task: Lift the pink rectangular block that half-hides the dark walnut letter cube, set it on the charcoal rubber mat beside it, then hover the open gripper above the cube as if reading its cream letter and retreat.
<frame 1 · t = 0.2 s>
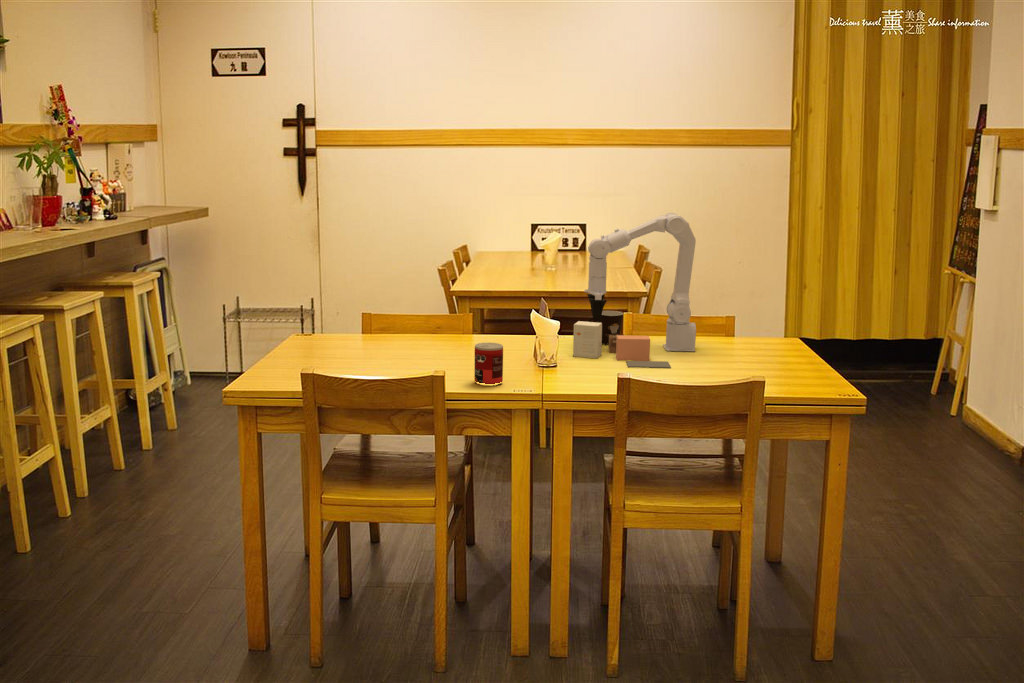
hand: (596, 318, 336), 10 cm above the table, fingers open, 7 cm apart
coffee mug: (604, 342, 348), on the table
pink rectangular block: (632, 359, 325), on the table
canned food: (488, 383, 293), on the table
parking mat: (648, 365, 317), on the table
letter cube: (616, 351, 335), on the table
small box: (587, 356, 328), on the table
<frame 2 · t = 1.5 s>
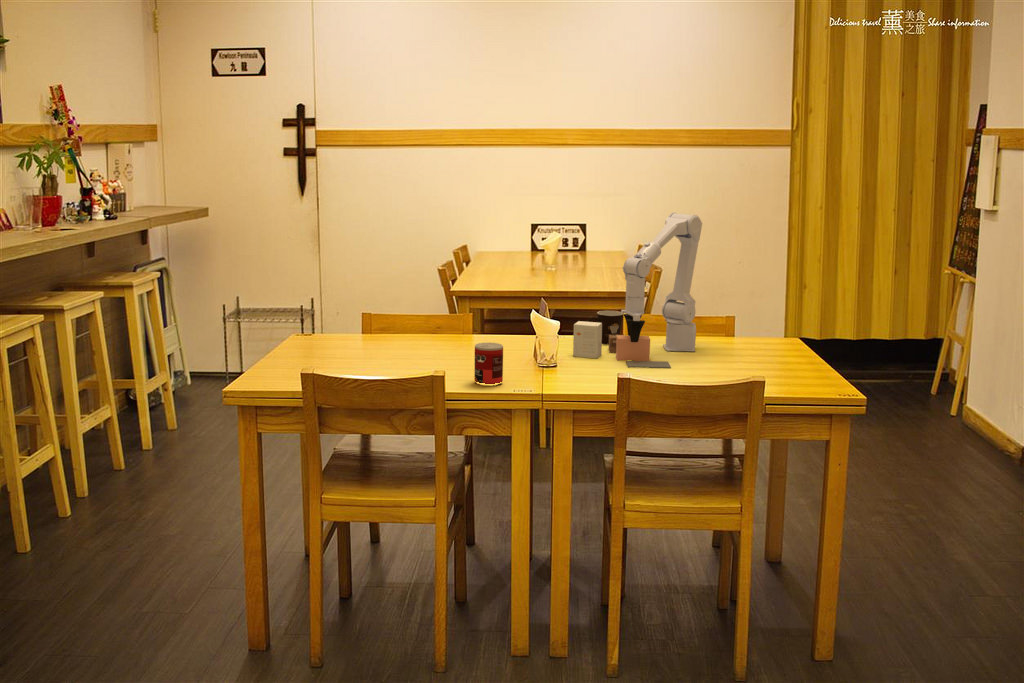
hand: (633, 339, 324), 6 cm above the table, fingers open, 7 cm apart
nothing on the table moved.
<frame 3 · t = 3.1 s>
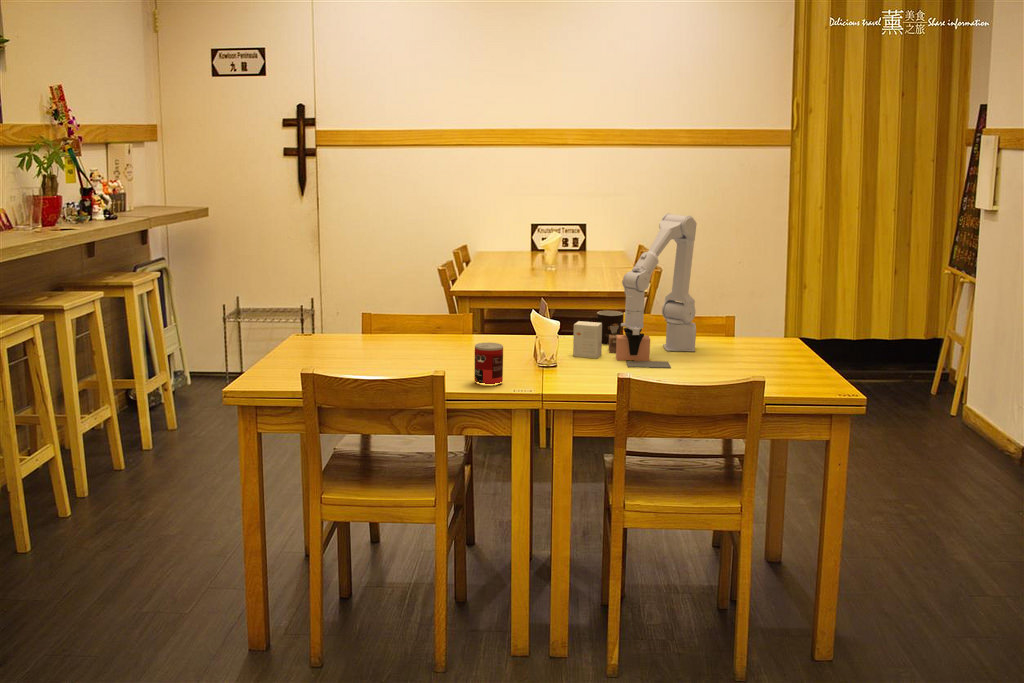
hand: (632, 352, 325), 2 cm above the table, fingers closed on pink rectangular block, 5 cm apart
pink rectangular block: (632, 358, 325), on the table, touching gripper
everything else where it was.
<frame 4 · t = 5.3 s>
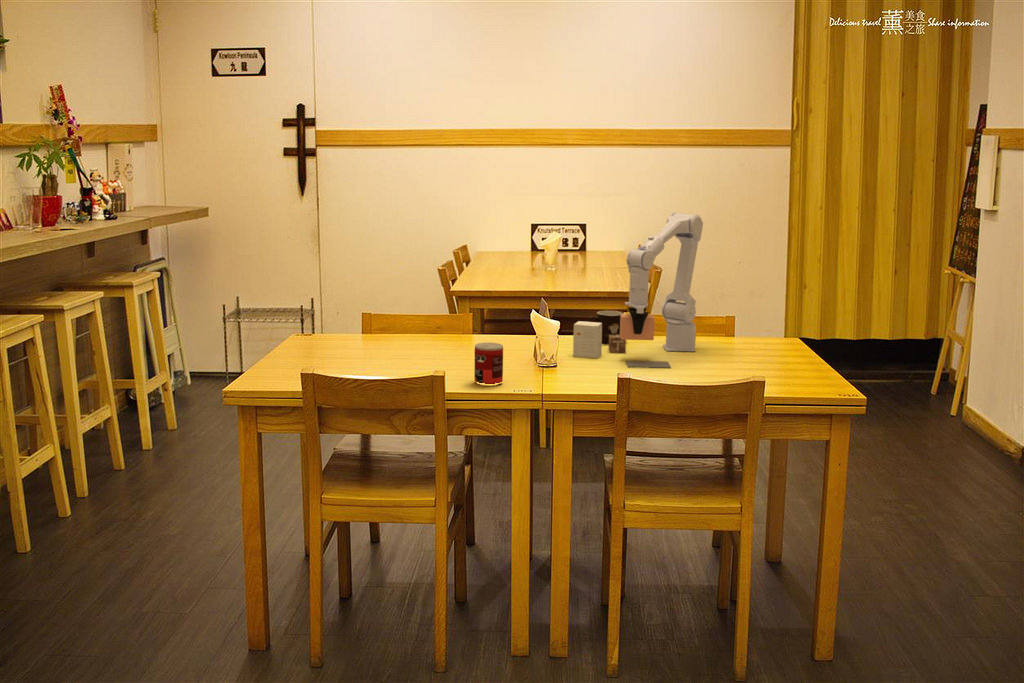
hand: (636, 332, 321), 9 cm above the table, fingers closed on pink rectangular block, 5 cm apart
pink rectangular block: (636, 338, 322), point 7 cm above the table, touching gripper
everything else where it was.
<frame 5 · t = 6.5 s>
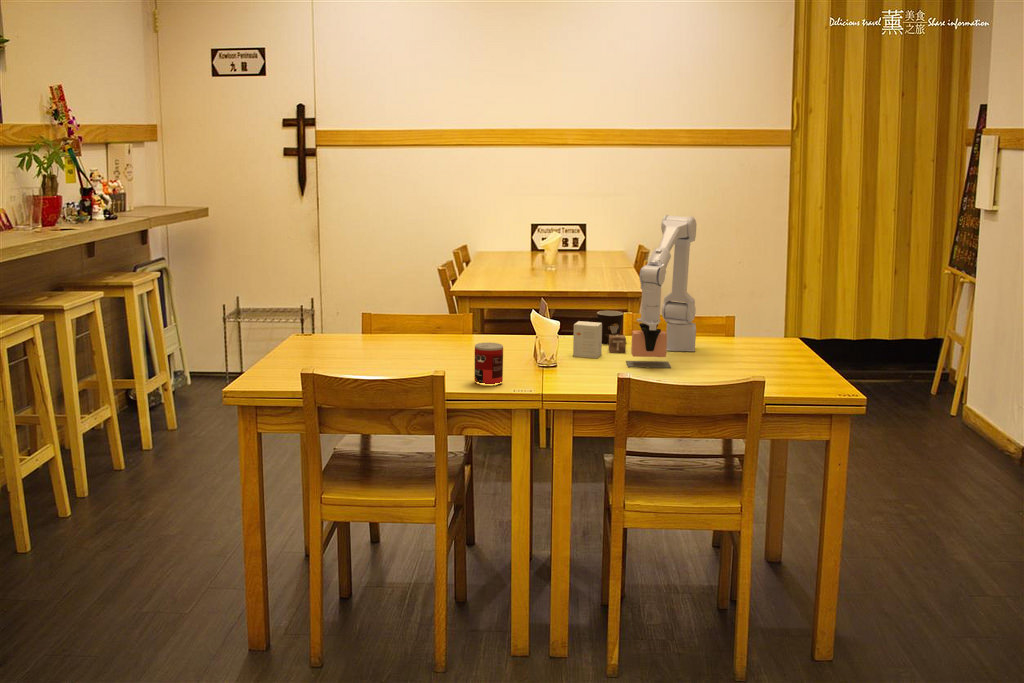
hand: (648, 348, 316), 5 cm above the table, fingers closed on pink rectangular block, 5 cm apart
pink rectangular block: (648, 355, 316), point 3 cm above the table, touching gripper
everything else where it was.
when the fingers open (4 cm above the table, at t = 7.7 s): pink rectangular block drops 1 cm, resting on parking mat.
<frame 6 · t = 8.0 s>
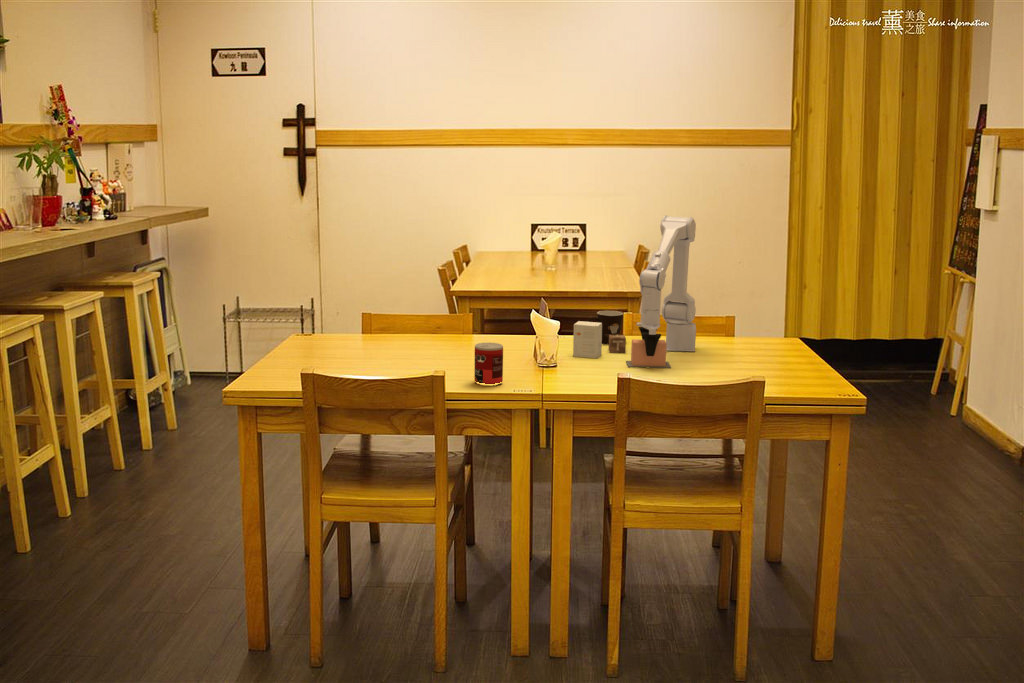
hand: (648, 352, 316), 4 cm above the table, fingers open, 7 cm apart
pink rectangular block: (648, 363, 317), resting on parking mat
everything else where it was.
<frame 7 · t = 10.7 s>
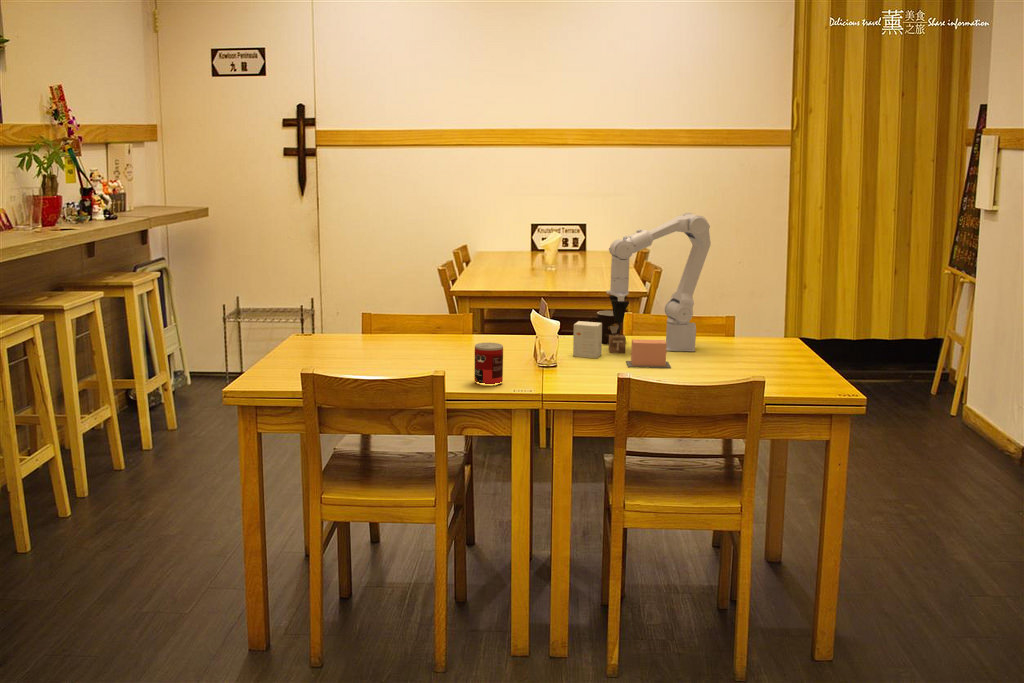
hand: (618, 319, 333), 10 cm above the table, fingers open, 7 cm apart
nothing on the table moved.
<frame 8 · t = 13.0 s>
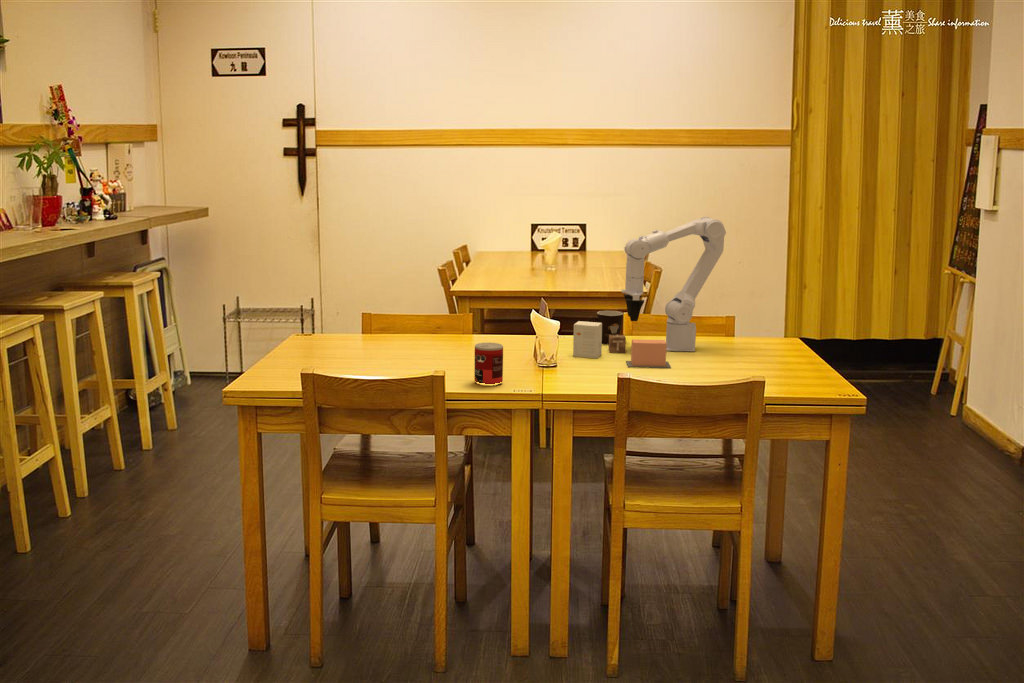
hand: (632, 318, 334), 10 cm above the table, fingers open, 7 cm apart
nothing on the table moved.
at the end: pink rectangular block inside the target area (0.0 cm from its centre), resting on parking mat; pink rectangular block tilted 0°; letter cube moved 0.1 cm from its start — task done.
